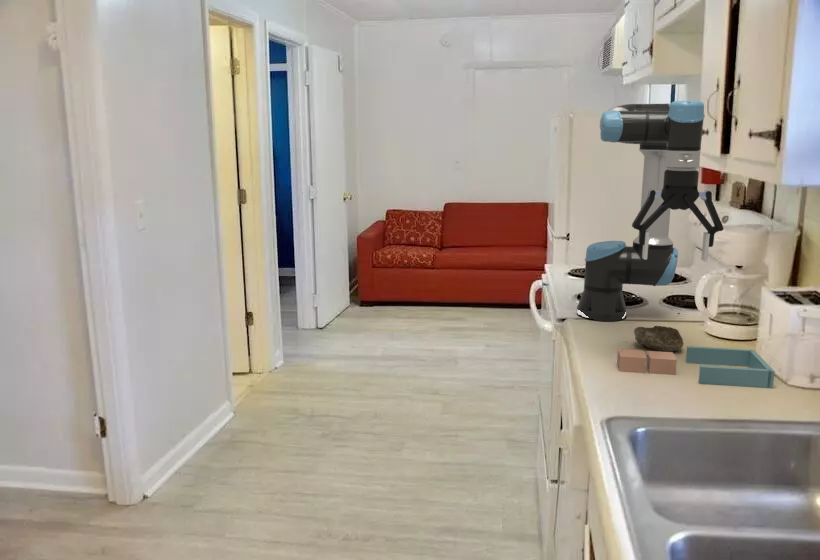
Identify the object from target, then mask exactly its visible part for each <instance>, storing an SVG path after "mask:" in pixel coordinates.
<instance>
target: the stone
mask: <svg viewBox="0 0 820 560" xmlns="http://www.w3.org/2000/svg"><path fill="white" fill-rule="evenodd" d="M633 333H634V336H635V337H634V340H636V342H637V343H638V344H641V345H642V346H644V347H648V348H650V349H652V350H653V351H659V352H678V351H680V350H681V351H682V348H683V347H684V345H685V344H684V339H683V336H682V335H681V333H680V331H679V330H678V329H676V328H674V327H670V326H663V325H662V326H661V325H654V326H653V327H643V326H638V327H636V328H634V330H633Z"/></svg>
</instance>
